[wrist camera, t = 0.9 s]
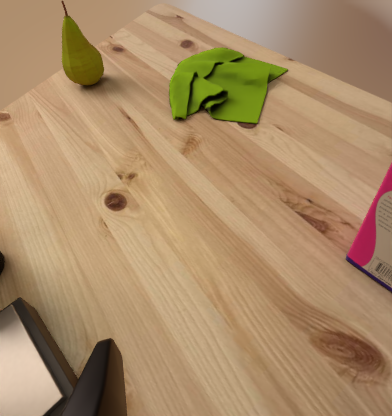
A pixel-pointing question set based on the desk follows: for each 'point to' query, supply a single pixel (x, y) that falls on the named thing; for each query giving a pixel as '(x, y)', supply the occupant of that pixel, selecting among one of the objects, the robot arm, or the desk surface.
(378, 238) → the supplement box
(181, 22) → the desk surface
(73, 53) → the fruit
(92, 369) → the robot arm
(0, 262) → the cup
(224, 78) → the cloth
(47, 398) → the scale
